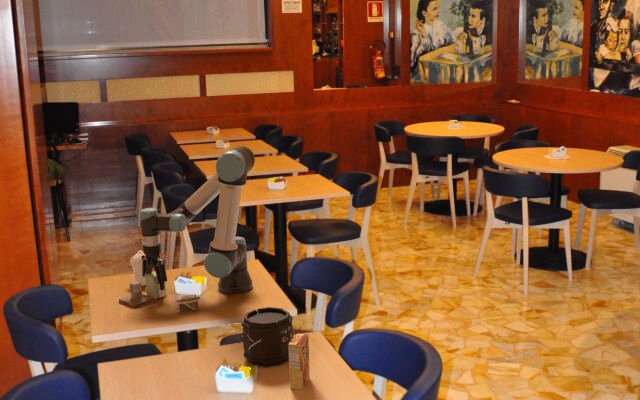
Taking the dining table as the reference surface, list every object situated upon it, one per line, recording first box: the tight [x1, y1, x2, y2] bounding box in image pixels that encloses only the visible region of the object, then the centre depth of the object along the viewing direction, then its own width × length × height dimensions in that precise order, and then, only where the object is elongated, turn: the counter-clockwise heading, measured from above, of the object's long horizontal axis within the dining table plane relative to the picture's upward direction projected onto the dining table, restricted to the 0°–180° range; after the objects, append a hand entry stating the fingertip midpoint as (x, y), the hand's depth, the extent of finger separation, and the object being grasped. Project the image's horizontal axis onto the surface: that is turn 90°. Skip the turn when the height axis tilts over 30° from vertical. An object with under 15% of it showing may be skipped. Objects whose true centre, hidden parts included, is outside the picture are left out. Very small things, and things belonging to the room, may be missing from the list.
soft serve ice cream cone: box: [129, 249, 146, 287], centre depth 358 cm, size 8×8×16 cm
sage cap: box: [145, 271, 167, 300], centre depth 343 cm, size 6×6×10 cm
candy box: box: [288, 333, 311, 391], centre depth 254 cm, size 9×4×15 cm, turn 163°
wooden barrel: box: [240, 306, 294, 368], centre depth 274 cm, size 18×18×16 cm
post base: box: [118, 280, 156, 309], centre depth 336 cm, size 12×10×8 cm
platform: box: [175, 294, 201, 312], centre depth 324 cm, size 12×18×7 cm, turn 113°
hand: (156, 294), depth 344 cm, fingers open, 7 cm apart
